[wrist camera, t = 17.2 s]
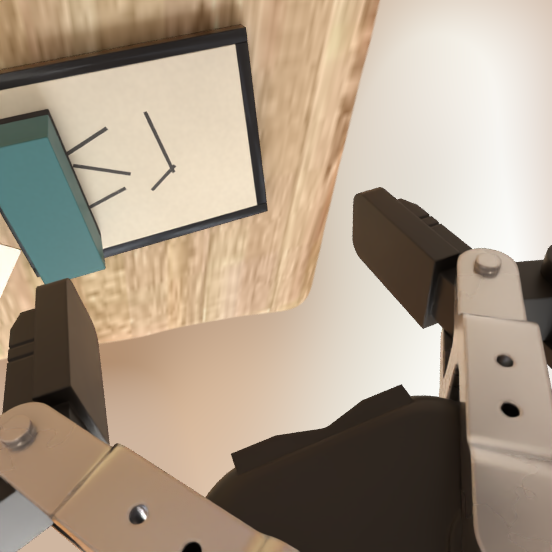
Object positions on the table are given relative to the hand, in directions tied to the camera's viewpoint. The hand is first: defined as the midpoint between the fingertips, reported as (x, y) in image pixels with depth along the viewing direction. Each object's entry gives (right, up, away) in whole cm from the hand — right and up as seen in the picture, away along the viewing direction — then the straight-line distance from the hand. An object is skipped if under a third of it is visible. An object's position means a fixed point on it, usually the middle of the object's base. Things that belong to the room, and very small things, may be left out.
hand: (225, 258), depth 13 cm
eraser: (-17, +7, +23) cm, 29 cm away
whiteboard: (-11, +10, +26) cm, 29 cm away
